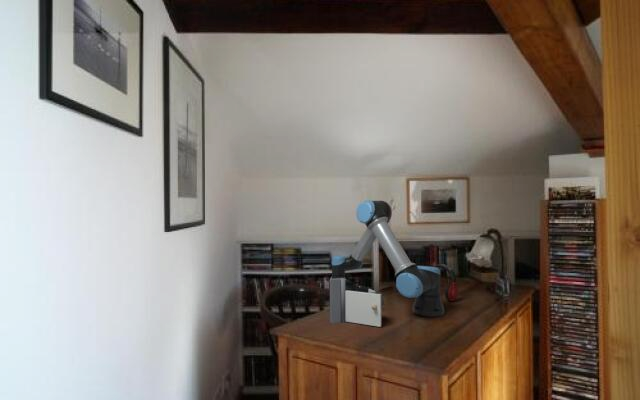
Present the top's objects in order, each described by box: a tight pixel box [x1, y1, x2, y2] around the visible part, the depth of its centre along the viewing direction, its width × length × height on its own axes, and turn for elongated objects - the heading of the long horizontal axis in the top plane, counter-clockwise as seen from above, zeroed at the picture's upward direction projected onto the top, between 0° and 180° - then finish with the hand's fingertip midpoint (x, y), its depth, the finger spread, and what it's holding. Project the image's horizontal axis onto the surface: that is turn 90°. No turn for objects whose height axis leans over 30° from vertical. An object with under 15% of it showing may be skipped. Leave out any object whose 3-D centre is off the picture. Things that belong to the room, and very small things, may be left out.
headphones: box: [432, 263, 459, 302], centre depth 211 cm, size 18×10×20 cm, turn 38°
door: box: [345, 290, 382, 328], centre depth 165 cm, size 17×3×14 cm, turn 62°
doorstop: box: [372, 291, 385, 308], centre depth 172 cm, size 9×9×18 cm
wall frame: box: [329, 277, 346, 325], centre depth 170 cm, size 7×3×20 cm, turn 110°
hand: (363, 295), depth 181 cm, fingers open, 13 cm apart
